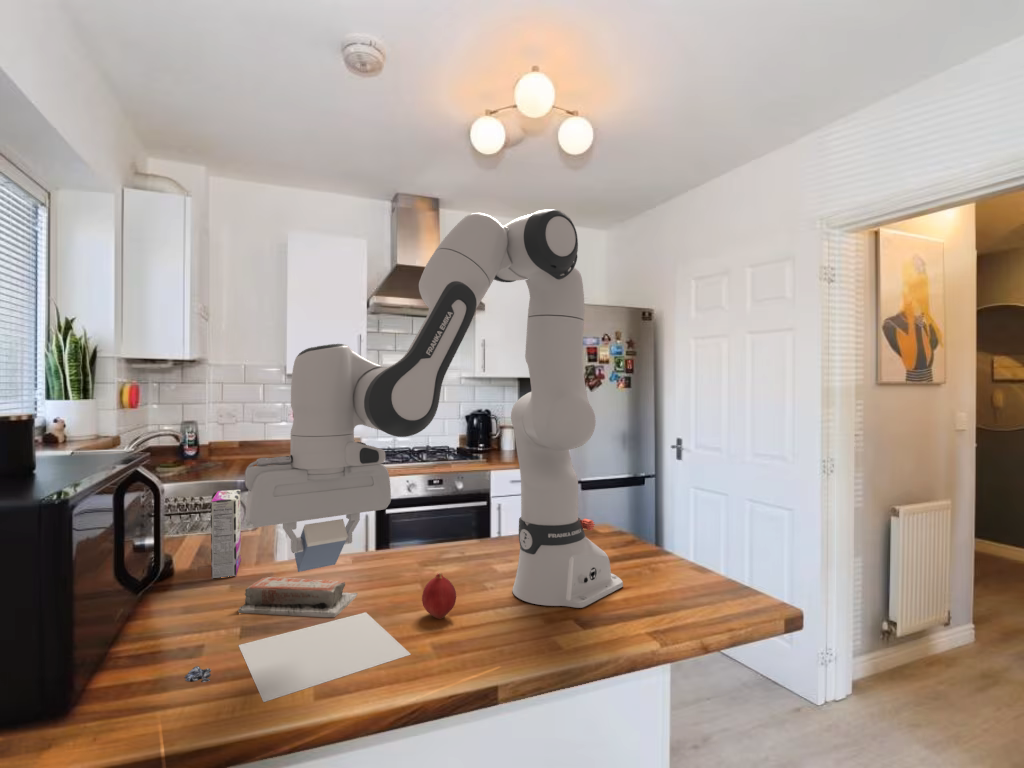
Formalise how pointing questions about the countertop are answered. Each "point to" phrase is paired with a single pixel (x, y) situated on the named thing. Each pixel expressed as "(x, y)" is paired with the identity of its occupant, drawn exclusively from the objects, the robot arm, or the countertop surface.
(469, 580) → the countertop surface
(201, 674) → the blueberries
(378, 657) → the rubber mat
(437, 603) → the onion
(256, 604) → the packaged product
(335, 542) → the card box
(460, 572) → the countertop surface
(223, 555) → the candy bar box
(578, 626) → the countertop surface
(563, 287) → the robot arm
